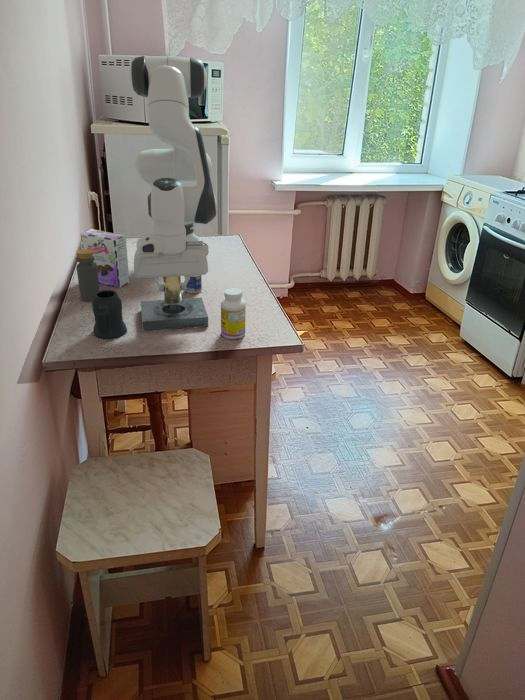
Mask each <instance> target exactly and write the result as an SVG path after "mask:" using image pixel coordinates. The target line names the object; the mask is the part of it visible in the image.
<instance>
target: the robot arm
mask: <svg viewBox="0 0 525 700" xmlns="http://www.w3.org/2000/svg"><path fill="white" fill-rule="evenodd" d="M204 65H205V64H204V62H203V61H202V60H201V59H198V58H195V57H190V58H189V57H184V56H178V55H159V56H158V55H153V56H145V55H142V56H137V57H135V58H134V59H133V60H132V61H131V65H130V67H129V74H128V75H129V76H128V77H129V83H130V84H131V87H132V90H133V92H135V93H136V94H137V95H138V96H140V97H145V98H147V118H148V125H149V126H148V127H149V128H150V131H151V132H152V134H153V135H155V137H156V138H157V139H159V140H160V141H162V142H163V143H165V144H166V145H169V146H172V147H173V148H151V149H146V150H141V151H140V152H139V153H138V155H137V156H136V160H135V171H136V173H137V176H138V177H139V178H140V179H141V180H142V181H143V182H145V183H146V184H148V185H149V186H150V187H151V191H150V193H149V194H148V195H147V210H148V211H147V212H148V216H149V217H150V218H151V220H152V223H153V225H152V234H150V235H146V236H144V237H141V238H139V239H137V241H136V250H135V252H134V258H133V274H134V277H136V278H137V279H145V278H146V279H147V278H148V279H150V278H153V282H155V284H156V286H157V289H158V292H162V293H163V292H164V285H163V283H161V282H160V278H163V277H166V276H181V277H184V281H183V282H181V291H186V285H187V283H188V281H189V280H190V275H201V276H204V275H207V274H208V272H209V264H208V258H207V257H208V255H209V252H210V251H209V250H210V249H209V244H208V243H206V242H205V241H204V242H203V240H199V237H198V236H197V235H196V234H195V232H194V231H195V224H200V225H201V224H203V225H207V224H209V223H210V222H211V221H213V220H214V219H215V217H217V213H218V200H217V197H216V194H215V191H214V188H213V183H212V179H211V174H212V169H213V164H212V160H211V156H209V154H208V153H207V152H206V148H205V145H204V144H205V143H204V139H203V136H202V133H201V131H200V128H199V127H196V126H194V124H193V122H192V121H191V118H190V108H189V106H190V104H189V98H191V99H195V98H196V99H197V98H199V97H201V96H203V95H204V93H205V89H206V88H207V85H208V74H207V70H206V68H205V66H204ZM182 183H196V185H194V186H183V185H182ZM194 223H195V224H194Z"/></svg>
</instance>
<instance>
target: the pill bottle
mask: <svg viewBox="0 0 525 700" xmlns="http://www.w3.org/2000/svg"><path fill="white" fill-rule="evenodd" d="M202 284H203V283H202V275H190V280H189V281H188V283H187V285H186V290H185V291H186V293H188V294H199V293H200V292H202V288H203V287H202Z"/></svg>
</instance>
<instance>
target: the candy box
mask: <svg viewBox="0 0 525 700" xmlns="http://www.w3.org/2000/svg"><path fill="white" fill-rule="evenodd" d="M126 237H127V236H126V234H119V233H113V232H108V231H104V230H99V229H94V228H91V229H88V230H85V231H81V232H80V239H81V246H82V249H90V250H92V251H93V256H94V261H93V263H95V264H96V266H97V273H98V281H99V285H104V286H109V287H113V288H117V289H120V288H123V287H125V286H127V285H128V284H130V283H131V282H130V271H129V262H128V261H129V260H128V249H127V248H128V247H127V238H126Z"/></svg>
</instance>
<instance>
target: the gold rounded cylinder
mask: <svg viewBox="0 0 525 700" xmlns="http://www.w3.org/2000/svg"><path fill="white" fill-rule="evenodd" d="M181 277H182V276H166V277H162V280H163V281H162V284H163V285H164V291H163V296H164V297H163V298H164V299H163V300H165V302H166V303H168V304H177V303H180V302H181V301H182V299H183V298H182V290H181V283H182V279H181Z"/></svg>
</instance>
